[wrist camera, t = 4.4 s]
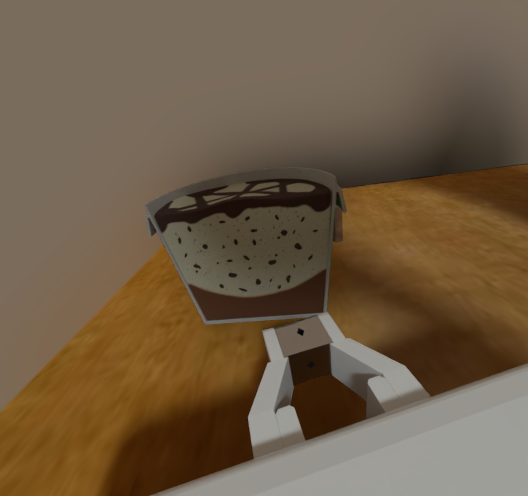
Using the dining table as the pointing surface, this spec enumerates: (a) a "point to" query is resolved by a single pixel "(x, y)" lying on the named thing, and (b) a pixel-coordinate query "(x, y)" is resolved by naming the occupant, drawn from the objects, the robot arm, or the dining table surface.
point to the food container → (252, 242)
